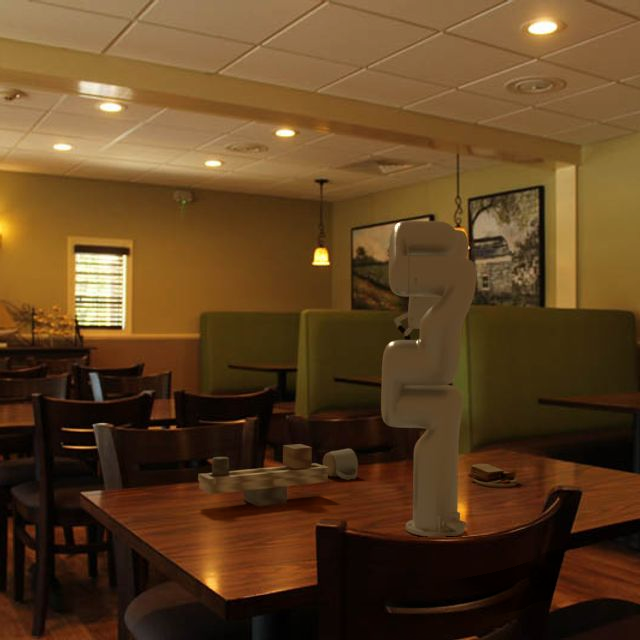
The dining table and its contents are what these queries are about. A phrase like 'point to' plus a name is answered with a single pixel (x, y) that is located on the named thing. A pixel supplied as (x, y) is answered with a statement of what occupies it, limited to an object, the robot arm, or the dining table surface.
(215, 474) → the beam
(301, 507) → the dining table surface
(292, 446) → the block
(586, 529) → the dining table surface
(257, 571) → the dining table surface
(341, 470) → the ceramic mug
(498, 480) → the toy sandwich meal
